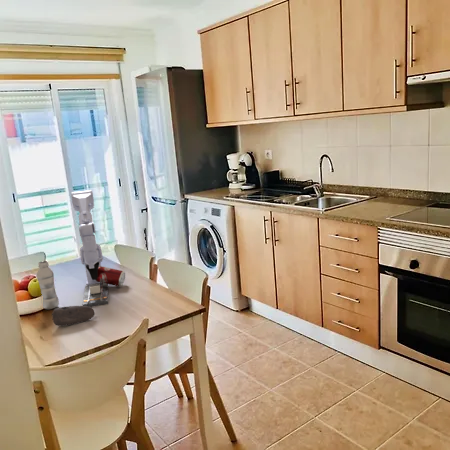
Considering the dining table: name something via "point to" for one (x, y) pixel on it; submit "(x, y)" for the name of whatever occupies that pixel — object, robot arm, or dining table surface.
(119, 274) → the soda can
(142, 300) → the dining table surface
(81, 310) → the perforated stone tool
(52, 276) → the plastic bottle
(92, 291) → the slider tab
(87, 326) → the dining table surface
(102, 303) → the fader panel
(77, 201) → the robot arm
